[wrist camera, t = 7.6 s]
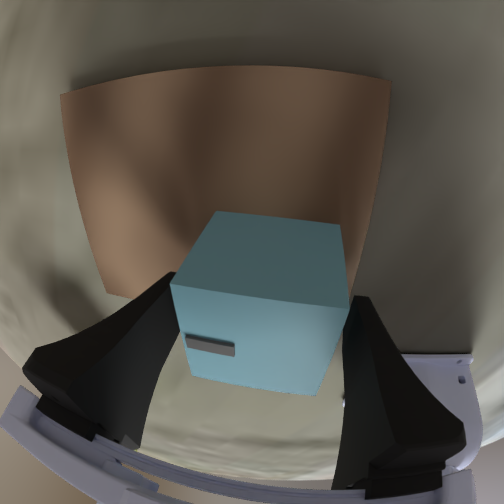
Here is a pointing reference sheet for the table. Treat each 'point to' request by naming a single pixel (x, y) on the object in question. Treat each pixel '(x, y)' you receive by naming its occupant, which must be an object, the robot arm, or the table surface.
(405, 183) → the table surface
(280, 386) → the blue cube with slot
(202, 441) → the table surface
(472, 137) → the table surface
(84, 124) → the panel
